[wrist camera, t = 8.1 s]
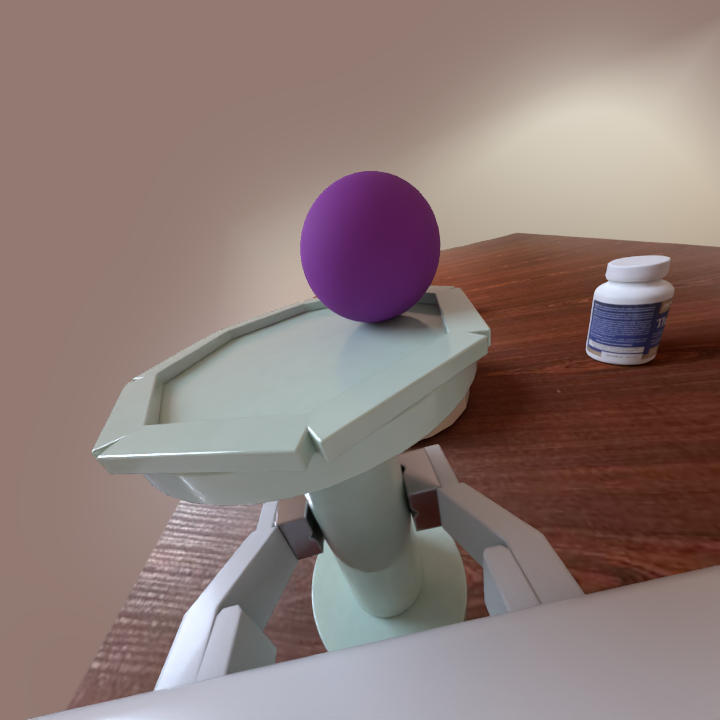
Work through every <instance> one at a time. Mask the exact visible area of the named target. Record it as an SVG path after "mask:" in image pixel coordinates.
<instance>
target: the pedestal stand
mask: <svg viewBox="0 0 720 720" xmlns="http://www.w3.org/2000/svg"><path fill="white" fill-rule="evenodd" d="M490 345H491V330H490V328H489V327H488V325H487V324H486V322H485V321H484V320H483V318H482V317H481V316H480V314H479V313H478V311H477V310H476V309H475V307H474V306H473V305H472V303H471V302H470V301H469V299H468V298H467V296H466V295H465V294H464V292H463V291H462V290H461V288H455V287H454V286H429V288H428V289H427V291H426V293H425V294H424V295H423V296H422V298H421V299H420V300H419V301H418V302H417V303H416V304H415V305H414V306H413V307H411V308H410V309H409V310H408V311H406V312H404V313H403V314H401V315H399V316H397V317H395V318H392V319H390V320H386V321H382V322H375V323H364V322H357V321H353V320H349V319H346V318H344V317H342V316H339V315H338V314H336V313H334V312H333V311H331V310H330V309H329V308H328V307H326V306H325V305H324V304H323V303H322V302H321V301H320V300H319V299H318V298H313V299H308V300H305V301H304V302H302V303H301V302H297V303H294V304H291V305H289V306H286V307H283V308H280V309H277V310H274V311H272V312H269V313H266V314H263V315H260V316H257V317H255V318H252V319H249V320H246V321H244V322H241V323H238V324H235V325H232V326H229V327H226V328H224V329H222V330H221V331H220V332H214V333H213V334H211V335H209V336H207V337H205V338H204V339H202V340H200V341H198V342H197V343H195V344H193V345H191V346H190V347H188V348H186V349H184V350H183V351H181V352H179V353H177V354H175V355H174V356H172V357H170V358H168V359H167V360H165V361H163V362H161V363H160V364H158V365H156V366H154V367H153V368H151V369H149V370H147V371H146V372H144V373H142V374H140V375H139V376H137V377H135V378H133V382H130V383H127V384H126V385H125V387H124V389H123V390H122V392H121V394H120V396H119V398H118V400H117V402H116V404H115V406H114V408H113V410H112V412H111V415H110V416H109V418H108V420H107V422H106V424H105V426H104V428H103V430H102V432H101V434H100V436H99V438H98V440H97V442H96V444H95V446H94V448H93V450H92V455H93V456H94V457H95V458H96V459H97V461H98V462H99V463H100V464H101V465H102V466H103V467H104V468H105V469H106V470H107V471H108V472H109V473H110V474H143V475H144V476H145V477H146V479H147V480H148V481H149V482H150V483H151V484H152V486H154V487H156V488H157V489H159V490H160V491H162V492H163V493H165V494H166V495H168V496H171V497H174V498H178V499H181V500H184V501H187V502H190V503H196V504H205V505H214V506H235V505H255V504H261V503H266V502H272V501H278V500H283V499H289V498H294V497H297V496H301V495H304V497H305V499H306V501H307V503H308V505H309V507H310V509H311V511H312V513H313V515H314V518H315V520H316V522H317V524H318V526H319V528H320V530H321V532H322V534H323V536H324V538H325V541H324V552H323V553H322V554H318V557H317V560H316V564H315V568H314V573H313V581H312V607H313V614H314V619H315V623H316V626H317V629H318V633H319V636H320V638H321V640H322V642H323V644H324V646H325V648H326V649H327V651H328V652H331V651H335V650H340V649H344V648H349V647H353V646H358V645H362V644H367V643H371V642H376V641H380V640H385V639H389V638H393V637H398V636H402V635H407V634H411V633H416V632H420V631H425V630H429V629H434V628H438V627H443V626H447V625H452V624H456V623H461V622H465V621H466V620H467V613H468V592H467V582H466V574H465V569H464V564H463V561H462V558H461V555H460V552H459V550H458V548H457V545H456V543H455V541H454V540H453V538H452V537H451V536H450V535H449V534H448V533H447V532H446V531H445V530H444V529H443V527H437V528H432V529H427V530H422V531H417V532H416V529H415V525H414V522H413V518H412V515H411V511H410V506H409V502H408V496H407V493H406V489H405V484H404V480H403V472H402V468H401V463H400V459H399V454H401V453H402V452H404V451H405V450H407V449H408V448H410V447H411V446H413V445H414V444H415V443H417V442H418V441H420V440H421V439H423V438H424V437H425V436H427V435H428V434H429V433H431V432H432V431H433V430H434V429H435V428H436V427H437V426H438V425H439V424H441V423H442V422H443V421H444V420H445V419H446V418H447V417H448V416H449V415H450V414H451V413H452V412H453V410H454V409H455V408H456V407H457V406H458V404H459V403H460V402H461V401H462V399H463V398H464V397H465V395H466V393H467V391H468V389H469V388H470V386H471V384H472V382H473V380H474V377H475V373H476V369H477V366H478V360H479V359H480V358H482V357H483V356H485V355H486V354H487V353H488V346H490Z"/></svg>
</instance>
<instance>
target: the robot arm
mask: <svg viewBox="0 0 720 720" xmlns="http://www.w3.org/2000/svg"><path fill="white" fill-rule="evenodd" d="M399 459H400V463H401V468H402V472H403V480H404V484H405V489H406V493H407V496H408V502H409V506H410V511H411V515H412V518H413V522H414V525H415V529H416V532H417V531H422V530H427V529H432V528H437V527H443V529H444V530H445V531H446V532H447V533H448V534H449V535H450V536H451V537H452V538H453V539H454V540H455V541H456V542H457V543H458V544H459V545H460V546H461V547H462V548H463V549H465V550H466V551H467V552H468V553H469V554H470V555H471V556H472V557H473V558H474V559H475V560H476V561H477V562H478V563H479V564H480V565H481V566H482V567H483V569H484V599H485V604H486V607H487V609H488V612H489V614H490V616H488V617H483V618H479V619H474V620H470V621H465V622H461V623H456V624H452V625H447V626H443V627H438V628H434V629H429V630H425V631H420V632H416V633H411V634H407V635H402V636H398V637H393V638H389V639H385V640H380V641H376V642H371V643H367V644H362V645H358V646H353V647H349V648H344V649H340V650H335V651H331V652H326V653H322V654H317V655H313V656H308V657H304V658H299V659H295V660H290V661H286V662H281V663H277V664H275V660H276V652H277V648H276V646H275V645H274V643H273V642H272V641H271V640H270V639H269V638H268V637H267V635H266V634H265V633H264V632H263V630H264V628H265V626H266V624H267V622H268V620H269V618H270V616H271V614H272V612H273V610H274V608H275V606H276V605H277V603H278V601H279V599H280V597H281V595H282V593H283V591H284V589H285V587H286V585H287V583H288V581H289V579H290V577H291V575H292V573H293V571H294V569H295V567H296V565H297V563H298V560H299V559H303V558H307V557H311V556H314V555H318V554H322V553H323V552H324V536H323V534H322V532H321V530H320V528H319V526H318V524H317V522H316V520H315V518H314V515H313V513H312V511H311V509H310V507H309V505H308V503H307V501H306V499H305V497H304V495H301V496H297V497H294V498H289V499H283V500H278V501H272V502H266V503H264V504H263V507H262V511H261V515H260V518H259V522H258V525H257V529H256V531H254V532H251V533H250V535H249V536H248V537H247V538H246V540H245V541H244V542H243V543H242V545H241V546H240V547H239V548H238V549H237V551H236V552H235V553H234V554H233V556H232V557H231V558H230V559H229V561H228V562H227V563H226V564H225V566H224V567H223V568H222V569H221V571H220V572H219V573H218V574H217V575H216V577H215V578H214V579H213V580H212V582H211V583H210V584H209V585H208V587H207V588H206V589H205V590H204V592H203V593H202V594H201V595H200V597H199V598H198V599H197V600H196V601H195V603H194V604H193V605H192V606H191V608H190V609H189V610H188V611H187V613H186V614H185V615H184V618H183V620H182V623H181V625H180V627H179V630H178V632H177V635H176V637H175V640H174V642H173V645H172V647H171V650H170V652H169V655H168V657H167V660H166V662H165V664H164V667H163V669H162V672H161V674H160V677H159V679H158V682H157V684H156V687H155V689H154V691H152V692H147V693H143V694H138V695H134V696H129V697H125V698H120V699H116V700H111V701H107V702H102V703H98V704H93V705H89V706H84V707H80V708H75V709H71V710H67V711H62V712H58V713H53V714H49V715H44V716H40V717H35V718H31V719H26V720H720V565H717V566H712V567H708V568H703V569H699V570H694V571H690V572H685V573H681V574H676V575H672V576H667V577H663V578H658V579H654V580H649V581H645V582H640V583H636V584H631V585H627V586H622V587H618V588H613V589H609V590H604V591H600V592H595V593H591V594H586V595H585V594H584V592H583V591H582V589H581V588H580V587H579V585H578V584H577V582H576V581H575V579H574V578H573V577H572V575H571V574H570V572H569V571H568V569H567V568H566V567H565V565H564V564H563V562H562V561H561V560H560V558H559V557H558V555H557V554H556V552H555V551H554V550H553V548H552V547H551V545H550V544H549V542H548V541H547V540H546V538H545V537H544V535H543V534H542V533H540V532H539V531H537V530H536V529H534V528H533V527H531V526H530V525H528V524H527V523H525V522H524V521H522V520H521V519H519V518H517V517H516V516H514V515H513V514H511V513H510V512H508V511H507V510H505V509H504V508H502V507H501V506H499V505H498V504H496V503H495V502H493V501H491V500H490V499H488V498H487V497H485V496H484V495H482V494H481V493H479V492H478V491H476V490H475V489H473V488H472V487H470V486H469V485H467V484H465V483H464V482H463V483H459V482H458V480H457V478H456V476H455V474H454V472H453V470H452V468H451V466H450V464H449V463H448V461H447V459H446V457H445V455H444V453H443V451H442V449H441V447H440V445H438V444H436V445H432V446H428V447H424V448H419V449H415V450H411V451H407V452H403V453H401V454H399Z"/></svg>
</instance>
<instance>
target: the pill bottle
mask: <svg viewBox="0 0 720 720" xmlns="http://www.w3.org/2000/svg"><path fill="white" fill-rule="evenodd" d="M670 261H671V258H669V257H666V256H635V257H627V258H622V259H617V260H614V261H611V262H610V263H609V264H608V267H607V272H606V279H608V280H609V281H608V282H606V283H604V284H602V285H600V286H599V287H598V288H597V289H596V290H595V293H594V298H593V304H592V311H591V318H590V325H589V331H588V337H587V342H586V352H587V354H588V355H589V356H590V357H592V358H593V359H595V360H598V361H601V362H604V363H610V364H617V365H638V364H643V363H647V362H649V361H651V360H652V359H653V358H654V357H655V355H656V352H657V350H658V346H659V343H660V339H661V336H662V333H663V329H664V326H665V323H666V319H667V315H668V312H669V309H670V305H671V302H672V298H673V294H674V287H673V286H672V284H670V283H669V282H667V281H665V280H662V277H664V276H666V275H667V273H668V271H669V266H670Z"/></svg>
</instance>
